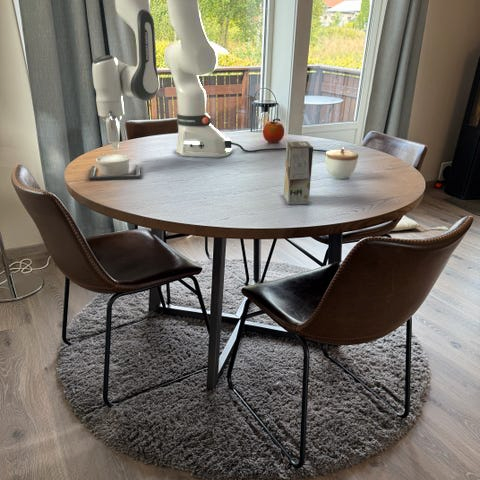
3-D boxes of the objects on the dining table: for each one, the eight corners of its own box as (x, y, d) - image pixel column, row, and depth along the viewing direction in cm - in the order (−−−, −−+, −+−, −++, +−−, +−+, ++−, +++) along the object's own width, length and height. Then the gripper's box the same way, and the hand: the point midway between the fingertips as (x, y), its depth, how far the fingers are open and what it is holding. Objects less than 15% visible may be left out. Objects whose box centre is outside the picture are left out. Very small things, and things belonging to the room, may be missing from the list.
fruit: (272, 138, 224) (273, 115, 219) (288, 142, 218) (289, 118, 213) (257, 141, 218) (258, 117, 213) (273, 145, 212) (274, 120, 207)
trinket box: (357, 174, 174) (361, 146, 169) (353, 182, 165) (356, 153, 160) (327, 171, 177) (329, 143, 172) (321, 178, 168) (323, 150, 163)
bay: (92, 169, 176) (91, 166, 175) (139, 167, 178) (138, 164, 178) (89, 180, 163) (89, 177, 162) (140, 178, 166) (139, 175, 165)
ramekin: (95, 171, 173) (93, 155, 170) (127, 168, 177) (125, 153, 174) (101, 179, 164) (99, 163, 161) (134, 176, 168) (132, 160, 165)
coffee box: (309, 204, 144) (314, 147, 136) (287, 204, 144) (291, 147, 135) (303, 195, 152) (307, 140, 144) (282, 195, 152) (285, 140, 143)
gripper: (119, 114, 161) (125, 157, 169) (120, 104, 178) (125, 144, 186) (100, 115, 160) (106, 158, 168) (102, 105, 177) (108, 145, 185)
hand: (116, 151), depth 177 cm, fingers closed
